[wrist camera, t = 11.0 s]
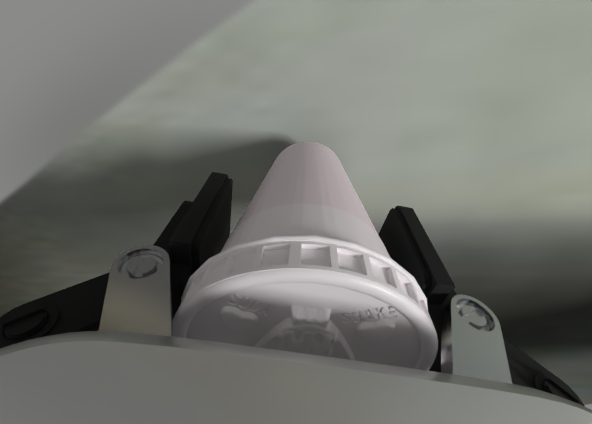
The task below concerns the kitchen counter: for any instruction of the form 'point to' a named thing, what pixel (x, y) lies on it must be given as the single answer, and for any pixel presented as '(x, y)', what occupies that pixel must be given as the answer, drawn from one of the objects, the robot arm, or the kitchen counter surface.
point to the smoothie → (309, 274)
